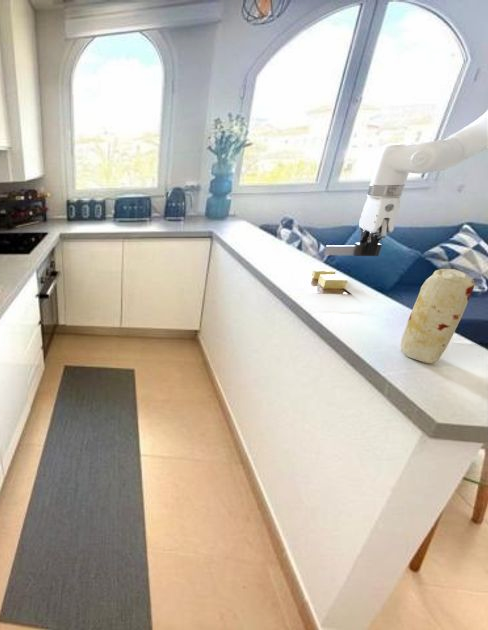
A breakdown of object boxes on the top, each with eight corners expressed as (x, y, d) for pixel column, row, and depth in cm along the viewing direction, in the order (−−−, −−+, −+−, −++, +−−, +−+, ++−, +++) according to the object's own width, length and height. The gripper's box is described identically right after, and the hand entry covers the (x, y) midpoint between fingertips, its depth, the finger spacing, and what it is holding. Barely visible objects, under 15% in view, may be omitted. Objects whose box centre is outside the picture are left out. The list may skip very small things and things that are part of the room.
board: (335, 281, 120) (336, 276, 120) (357, 298, 106) (359, 294, 106) (290, 280, 124) (291, 276, 123) (306, 297, 110) (307, 293, 109)
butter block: (338, 283, 115) (340, 274, 113) (345, 288, 110) (347, 280, 109) (317, 282, 116) (319, 274, 115) (323, 288, 112) (326, 279, 110)
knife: (325, 255, 108) (328, 244, 107) (322, 254, 110) (325, 242, 109) (378, 256, 105) (382, 244, 103) (374, 254, 107) (378, 242, 105)
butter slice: (331, 277, 119) (333, 269, 118) (333, 279, 118) (335, 271, 116) (311, 277, 121) (313, 269, 120) (313, 279, 119) (315, 271, 118)
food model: (449, 369, 73) (493, 281, 65) (410, 365, 75) (447, 279, 67) (423, 345, 81) (459, 265, 73) (388, 343, 84) (419, 264, 75)
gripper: (418, 194, 90) (394, 261, 98) (385, 187, 104) (366, 247, 112) (384, 195, 92) (363, 261, 100) (356, 188, 106) (340, 247, 114)
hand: (365, 253), depth 106 cm, fingers closed on knife, 2 cm apart
